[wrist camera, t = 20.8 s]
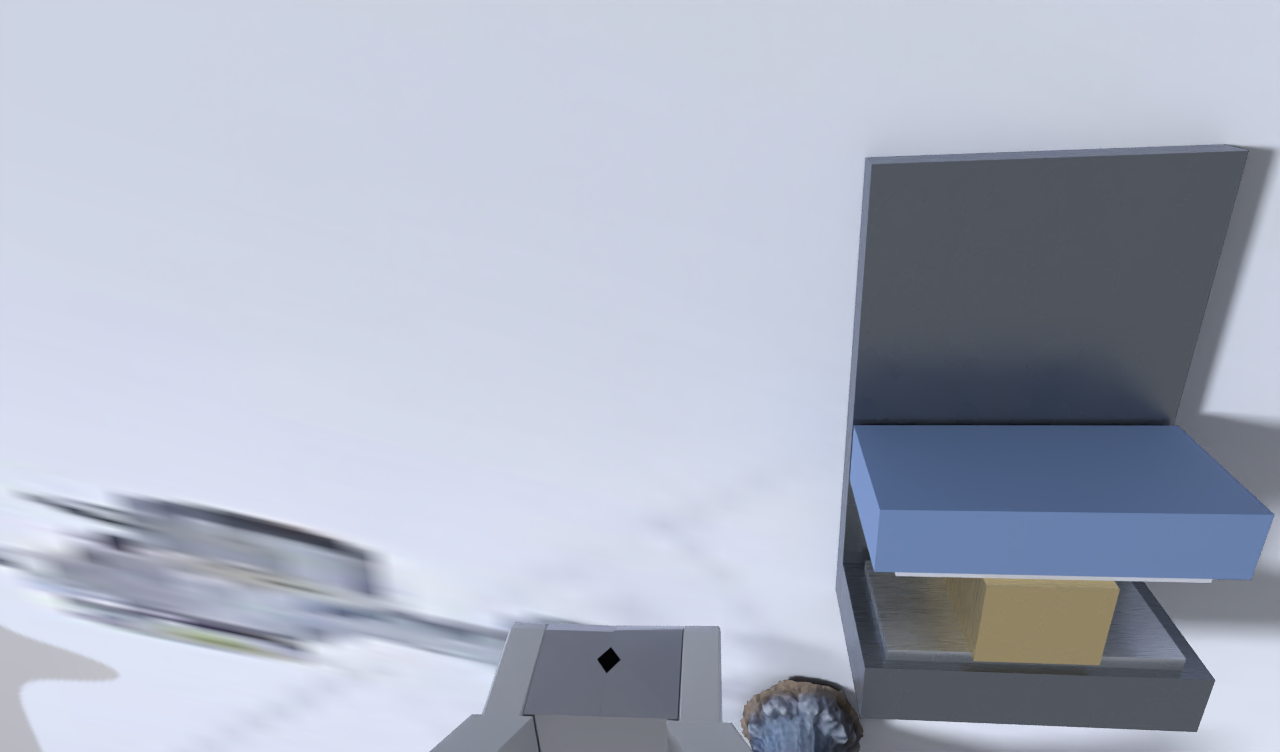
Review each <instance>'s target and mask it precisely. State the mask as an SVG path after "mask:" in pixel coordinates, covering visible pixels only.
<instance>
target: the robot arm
mask: <svg viewBox="0 0 1280 752" xmlns="http://www.w3.org/2000/svg"><path fill="white" fill-rule="evenodd" d="M430 752H753V751H752V750H751V749H750V747H749V746H748V745H747V743H746V742H745V740H744V739H743V738H742V736H741V735H740V734H739V732H738V731H737V730H736V728H735V727H734V725H733V724H732V723H723V722H722V681H721V632H720V628H719V626H685V628H684V626H605V625H583V624H560V623H549V624H543V623H523V622H515V624H514V625H513V626H512V628H511V629H510V630H509V633H508V636H507V639H506V642H505V645H504V649H503V652H502V655H501V658H500V661H499V664H498V667H497V670H496V673H495V676H494V679H493V682H492V685H491V688H490V692H489V695H488V698H487V701H486V704H485V707H484V710H483V713H482V714H472V715H471V716H469V717H468V718H467V719H466V720H465V721H464V722H463V723H462V724H460V725H459V726H458V727H457V728H456V729H455V730H454V731H452V732H451V733H450V734H449V735H448V736H447V737H446V738H445V739H443V740H442V741H441V742H440V743H439V744H438V745H437V746H436V747H434V748H433V749H432V750H431V751H430Z"/></svg>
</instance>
